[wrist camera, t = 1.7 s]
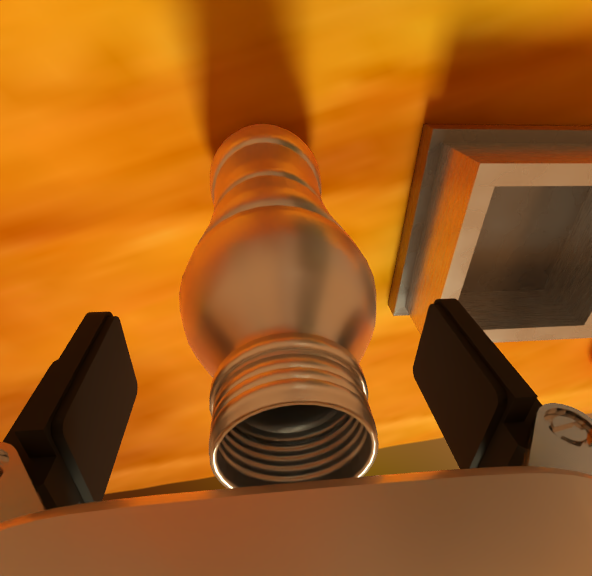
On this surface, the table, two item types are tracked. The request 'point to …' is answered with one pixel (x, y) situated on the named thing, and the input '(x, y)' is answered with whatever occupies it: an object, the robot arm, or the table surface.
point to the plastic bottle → (279, 319)
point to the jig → (501, 229)
